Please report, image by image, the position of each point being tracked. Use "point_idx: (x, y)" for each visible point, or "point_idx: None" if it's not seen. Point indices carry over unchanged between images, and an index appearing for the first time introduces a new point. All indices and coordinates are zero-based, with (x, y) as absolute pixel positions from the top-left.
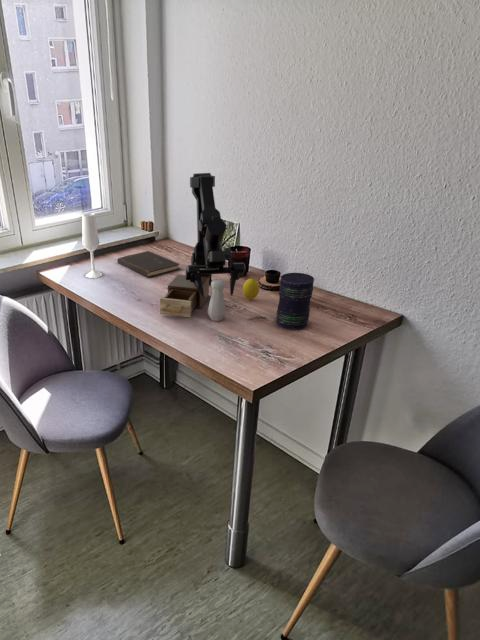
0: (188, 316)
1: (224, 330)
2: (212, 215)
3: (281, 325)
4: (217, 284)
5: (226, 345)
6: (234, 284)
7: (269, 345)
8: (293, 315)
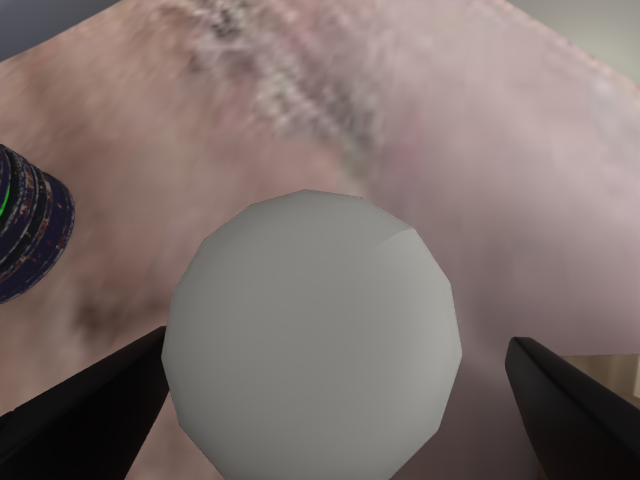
0: None
1: None
2: None
3: (62, 196)
4: (341, 196)
5: (350, 70)
6: (27, 402)
7: (192, 70)
8: None
